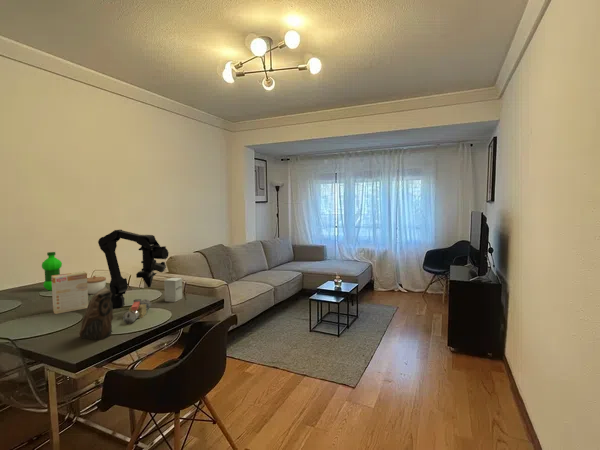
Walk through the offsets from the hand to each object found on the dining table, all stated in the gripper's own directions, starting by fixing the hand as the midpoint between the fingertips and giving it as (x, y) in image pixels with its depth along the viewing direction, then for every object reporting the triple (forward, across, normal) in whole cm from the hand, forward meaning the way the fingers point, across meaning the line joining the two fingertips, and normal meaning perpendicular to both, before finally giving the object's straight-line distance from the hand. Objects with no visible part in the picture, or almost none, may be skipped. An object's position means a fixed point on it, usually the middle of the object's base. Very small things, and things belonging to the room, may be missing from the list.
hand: (149, 287), depth 174 cm
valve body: (+12, -11, +2) cm, 16 cm away
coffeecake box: (+12, +3, +42) cm, 44 cm away
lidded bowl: (+12, +37, +47) cm, 61 cm away
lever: (+6, -15, +1) cm, 16 cm away
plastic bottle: (+12, +48, +79) cm, 93 cm away
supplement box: (+12, +16, -8) cm, 22 cm away
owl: (+12, -34, +10) cm, 37 cm away
